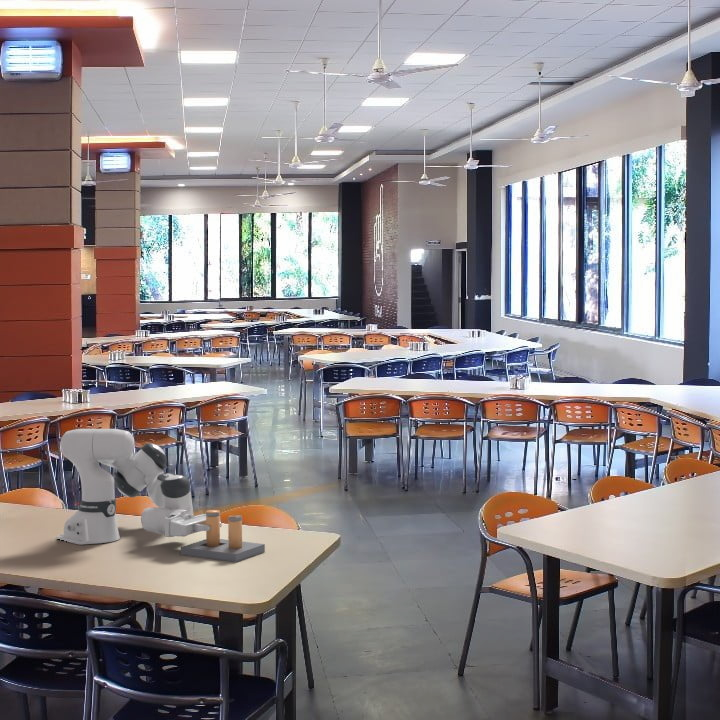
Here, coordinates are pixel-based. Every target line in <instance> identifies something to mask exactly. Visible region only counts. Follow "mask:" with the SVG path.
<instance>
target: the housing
mask: <svg viewBox="0 0 720 720" xmlns="http://www.w3.org/2000/svg"><path fill="white" fill-rule="evenodd" d="M227 520H228V521H227V522H228V524H227V526H228V529H227V531H228V532H227V533H228V534H227V535H228V537H227V538H228V539H223V538H220V546H218V547H208V546H206V539H203V540H199V541H196V542H193V543H189V544H186V545H183V546H180V555H181V556H188V557H195V558H202V559H210V560H218V561H226V562H235V563H237V562H240V561H243V560H246V559H248V558H251V557H253V556H257V555H259V554H262V553H265V552H266V546H265V543H258V542H252V541H251V542H250V541H243V516H242V515H239V514H234V515H228V516H227Z"/></svg>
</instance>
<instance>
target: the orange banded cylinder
mask: <svg viewBox="0 0 720 720" xmlns="http://www.w3.org/2000/svg"><path fill="white" fill-rule="evenodd" d="M205 514H206V525H211V530H210V531H205V535H206V546H208V547H218V546H220V539H221V535H220V534H221V527H220V517H221V513H220V510H219V509H211V510H206V511H205Z"/></svg>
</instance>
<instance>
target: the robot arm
mask: <svg viewBox="0 0 720 720" xmlns="http://www.w3.org/2000/svg"><path fill="white" fill-rule="evenodd" d="M135 443H136V442H135V438H134V436H133V435H132V433H131V432H130V431H129V430H124V429H118V428H75V429H72V430H67V431H66V432H65V433H64V434H63V435H62V436H61V438H60V443H59V446H60V451H61V453H62V455H63V456H64V457H65V458H66V459H67V460H69V461H70V462H71V463H72V464H73V466H74V467H75V468H76V470H77V473H78V474H79V478H80V483H81V484H80V485H81V500H80V501H77V502H76V506H78V509H77V511H76V512H75V513H73V515H72V516H70V517H69V518H67V519H66V520H65V522H64V526H63V533H62V534H59V535H57V536H56V540H57V539H60V540H59V541H61V540H64V541H63V542H66V541H67V543H69V544H75V545H78V546H79V545H80V546H81V545H89V544H90V545H91V544H92V545H93V544H94V545H95V544H103V543H104V544H105V543H106V544H107V543H111V542H116V541H118V540H120V539H121V537H120V531H119V526H118V521H117V514H116V511H117V500H116V498H115V487H116V488H117V489H118V491H119V493H120V494H122V495H124V496H125V497H129V498H135V497H137V496H138V495H139V494H140V493H142V491H143V490H144V489H145V488H146V489H147V490H146V491H147V494H148V497H149V499H150V500H151V501H152V503H153V504H154V506H155V507H153V506H152V507H146V508H144V509H143V511H142V513H141V516H140V521H141V526H142V529H143V530H145V531H147V532H150V533H154V534H160V535H164V536H165V537H166V538H173V537H183V538H184V537H188V536H189V535H192V534H193V535H194V534H195V533H200V532H206V531H210V530H211V525H206V513H203V514H198V515H195V514H194V508H193V501H192V494H191V481H190V479H189V478H187V477H186V476H184V475H182V474H181V475H179V474H176V473H174V472H164V470H165V469H168V466H167V461H168V459H167V455H166V453H165V451H164V449H162V447H161V446H159V445H157V444H155V443H151V442H147V443H145V444H144V445H143V446H141V447H140V450H138V451H137V452H136V453H135V454H134V450H135V445H136V444H135ZM100 464H102V465H104V466H108V467H110V468H113V469H116V471H117V472H116V471H113V472H114V473H113V474H112V473H111V472H110V471H108V470H106V469H103V468H102V467H101V466H100ZM113 475H114V476H113ZM221 520H222V519H221V516H220V528H222V522H221Z"/></svg>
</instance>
